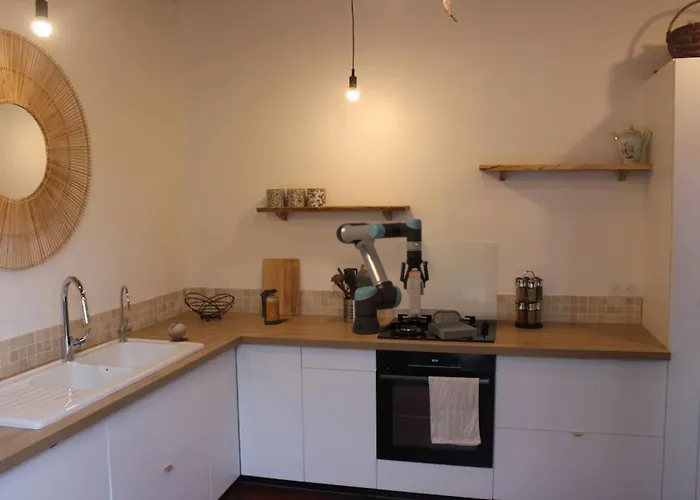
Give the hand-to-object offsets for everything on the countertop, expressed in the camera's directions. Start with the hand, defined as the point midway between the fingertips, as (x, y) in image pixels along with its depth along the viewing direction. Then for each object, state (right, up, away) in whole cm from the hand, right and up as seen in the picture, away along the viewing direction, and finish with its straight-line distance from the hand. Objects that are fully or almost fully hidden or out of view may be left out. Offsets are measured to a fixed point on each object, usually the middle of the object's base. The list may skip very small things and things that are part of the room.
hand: (414, 295), depth 295 cm
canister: (-78, -20, +40) cm, 90 cm away
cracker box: (0, -9, +1) cm, 9 cm away
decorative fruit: (-119, -23, +1) cm, 122 cm away
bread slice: (+21, -19, +27) cm, 39 cm away
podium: (+20, -20, +6) cm, 29 cm away
